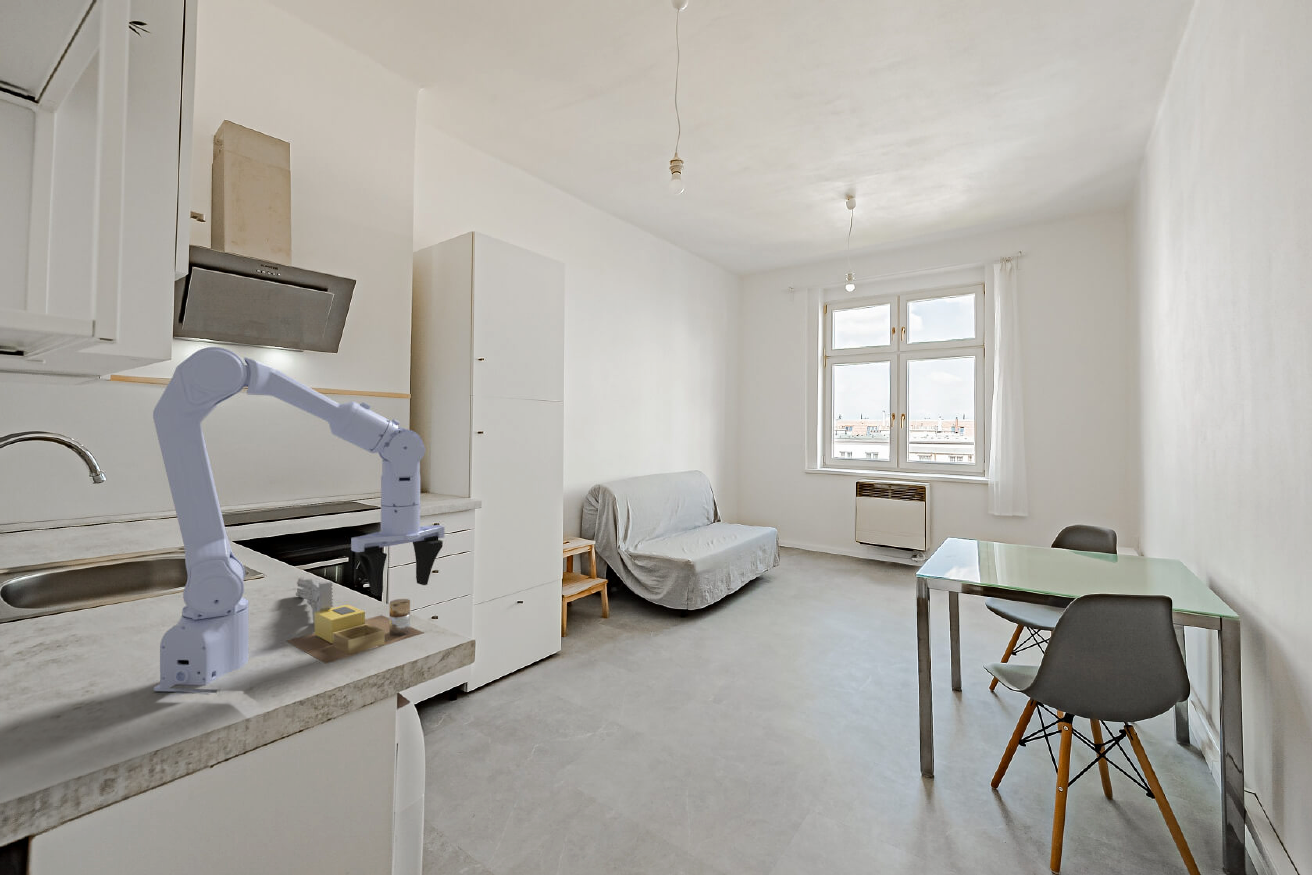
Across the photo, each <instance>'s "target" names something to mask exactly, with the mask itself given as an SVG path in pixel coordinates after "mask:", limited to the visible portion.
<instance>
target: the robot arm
mask: <svg viewBox="0 0 1312 875" xmlns="http://www.w3.org/2000/svg"><path fill="white" fill-rule="evenodd" d="M243 358H244V361H243V359H242V358H241V357H240V356H239V355H238V354H237V353H236V352H233V351H232V350H230V349H227V348H224V347H220V346H209V347H204V348H200V349H199V350H196V351H195V352H193V353H192V354H191V355H190V356H189V357H187V358H186V359H185V360H183V361H182V362H180V363H179V364H178V365H177V366H176V367H175V370H174V372H173V373H172V377H171V379H170V380H169V382H168V384H167V386H166V388H165V390H164V391H163V393H162V394H161V396H160V398H159V400H158V401H157V403H156V405H155V407H154V408H153V411H152V419H153V422H154V427H155V431H156V434H157V439H158V444H159V449H160V451H161V455H162V460H163V464H164V469H165V473H166V476H167V479H168V480H167V481H168V484H169V489H170V492H171V498H172V500H173V501H172V502H173V505H174V509H175V513H176V514H175V515H176V516H177V522H178V526H179V530H180V536H181V538H182V543H183V546H184V560H185V568H186V569H185V570H186V572H187V581H186V583H185V585H184V588H183V592H182V598H183V602H184V604H185V605H184V606H183V607H182V609H181V616H180V619H179V620H178V622H177V623H176V624H175V625H173V626H172V627H171V628H169V629H168V630H167V631H166V632H165V633H164V634H163V636H162V638H161V640H160V646H159V650H160V651H159V653H160V654H159V666H160V668H159V671H160V672H159V680H160V681H159V682H160V683H158V684H157V685H155V686H154V687H153V692H179V693H181V692H183V693H184V692H185V693H214V692H218V689H206V688H205V689H203V688H172V687H174V686H175V685H185V686H187V685H190V686H191V685H192V686H193V685H194V686H207V685H209V684H210V683H212V682H214V681H215V680H217V679H220V678H221V677H223V676H226V675H227V674H229V673H232V672H234V671H237V670H239V669H241V668H242V667H244V666H245V665H247V663H248V662H249V600H248V599H246V598H245V597H243V595H244V592H245V584H244V580H245V577H246V570H245V567H244V564H243V563H242V562H241V561H240V560H239V559H238V558H237V557H236V556H235V554H234V553H233V550H232V547H231V543H230V539H229V537H228V535H227V530H226V527H225V523H224V522H225V521H224V518H223V513H222V509H221V505H220V501H219V497H218V492H217V488H216V482H215V478H214V474H213V470H212V466H211V465H212V464H211V461H210V457H209V453H208V449H207V445H206V440H205V435H204V430H203V427H202V422H203V421H204V420H205V419H206V418H208V416H209V415H210V414H211V413H212V412H213V411H214V409H216V408H217V406H218V405H219V404H221V403H222V402H225V401H226V400H228V399H230V398H231V397H233V396H235V395H236V394H238V393H240V392H241V391H242V390H243V389H244V388H247V390H246V394H247V395H248V396H252V395H253V396H269V397H274V398H276V399H278V400H279V401H283V402H285V403H286V404H289V405H290V406H291V405H292V406H293V407H296V408H297V409H300V410H302V411H304V412H306V413H309V414H311V415H312V416H315V417H317V418H318V419H321V420H323V421H326V422H327V423H328V425H329V428H330V432H331V434H332V435H333V436H336V437H337V438H339V439H340V440H341V439H342V440H343V441H346V442H348V443H350V444H352V445H354V446H356V447H358V448H359V449H362V450H364V451H366V452H368V453H370V454H377V453H378V456H379V457H380V458H381V459H382V462H381V463H382V464H381V465H382V466H381V476H380V531H376V532H371V533H370V534H364V535H360V536H354V537H351V540H350V541H351V543H350V545H351V546H350V548H351V549H350V550H351V551H352V552H354V554H355V556H356V558H357V560H358V562H359V563H360V565H361V568H362V569H363V571H364V573H365V576H366V578H367V581H368V586H369V589H370V594H371V595H372V596H376V597H382V596H383V593H384V592H383V591H384V573H385V572H384V570H385V564H386V560H387V557H388V554H387V553H385V552H382V549H380V548H386V547H391V546H396V545H397V546H398V545H403V544H408V543H412V545H413V552H414V554H415V555H414V557H415V576H416V577H415V579H416V584H417V585H418V584H419V585H421V586H428V585H429V584H428V582H429V580H430V579H429V578H430V575H431V572H432V568H433V565H434V563H435V561H436V558H437V556H438V555H439V552H440V551H441V550H442V549H443V547H444V546H443V540H441V539H443V538H445V526H444V525H439V524H435V525H426V526H421V474H420V472H421V470H420V469H421V462H420V461H421V460H422V459H423V458H424V456H425V453H426V447H425V445H424V442H423V439H422V438H421V436H420V435H419V434H418V433H417V432H415V431H414V430H411V429H406V428H404V427H401V426H400V427H399V425H400V421H399V420H396V419H391V420H390V419H387V417H384V416H383V415H380V414H378V413H376V412H375V411H373V410H371V407H372V406H371V405H370V404H368V403H366V402H364V401H362V402H360V403H358V402H356V401H354V400H353V401H348V402H344V403H338V402H336V401H334V400H333V399H331V398H329V397H327V396H326V395H324V394H322V393H320V392H319V391H316V390H314V389H313V388H311V387H310V386H308V385H306V384H304V383H302V382H300V381H298V380H296V379H294V378H293V377H291V376H289V375H287V374H285V373H284V372H282V371H280V370H278V369H276V368H274V367H272V366H270V365H268V364H264V363H262V362H260V361H258V360H254V359H252V358H248V357H247V356H243Z"/></svg>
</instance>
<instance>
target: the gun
mask: <svg viewBox="0 0 1312 875" xmlns="http://www.w3.org/2000/svg"><path fill="white" fill-rule="evenodd" d="M296 584H297V587H299V588H297V589H296V590H297V591H296V592H295V596H297V597H299V598H302V599H305V600H307V604H308V605H309V606H310V607H311V610H312V611H311V612H312V622H313V625H314V626H315V612H318V611H322V610H326V609H331V608H334V605H333V604H334V601H333V600H334V599H333V597H334V595H333V590H334V589H333V581H332V580H331V581H329V580H328V581H322V580H321V579H319V578H318V577H317V578H304V577H298V579H297V582H296Z"/></svg>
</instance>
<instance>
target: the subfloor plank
mask: <svg viewBox="0 0 1312 875" xmlns="http://www.w3.org/2000/svg"><path fill="white" fill-rule="evenodd" d="M421 634H422V635H423V634H425V632H424V631H422V630H420V629H416V628H415V627H412V626H410V633H408V634H406V635H403V636H391V635H389V617H388V616H385V615H382V614H381V615H377V616H373V617H370V618H365V624H363V625H359V626H356V627H352V628H348V629H345V630H341V631H337V632H334V633H332V643H330V642H328V641H326V640H324V639H322V638H321V637H319V636H317V635H315V632H313V633H310V634H305V635H302V636H298V637H294V638H290V639H287V640H285V642H287V643H288V644H290V645H292V646H294V647H296V648H297V649H299V650H301V651H303V652H304V653H306V654H308V655H310V656H311V657H313V658H315V659H317V660H319V661H320V662H322V663H324V664H329V663H333V662H335V661H338V660H341V659H345V658H348V657H352V656H355V655H358V654H361V653H364V652H367V651H371V650H374V649H378V648H380V647H383V646H386V645H390V644H394V643H396V642H399V641H402V640H406V639H410V638H412V637H415V636H419V635H421Z"/></svg>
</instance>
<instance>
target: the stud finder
mask: <svg viewBox="0 0 1312 875" xmlns="http://www.w3.org/2000/svg"><path fill="white" fill-rule="evenodd" d="M365 619H366V611H364V610H362V609H359V608H357V607H355V606H352V605H349V604H344V605H339V606H335V607H331V609H326V610H322V611H318V612H315V625H314V633H315V635H317V636H319V637H321V638H322V639H324V640H326V641H328V642H330V643H332V633H334V632H337V631H341V630H345V629H348V628H352V627H356V626H359V625H363V624H365Z"/></svg>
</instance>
